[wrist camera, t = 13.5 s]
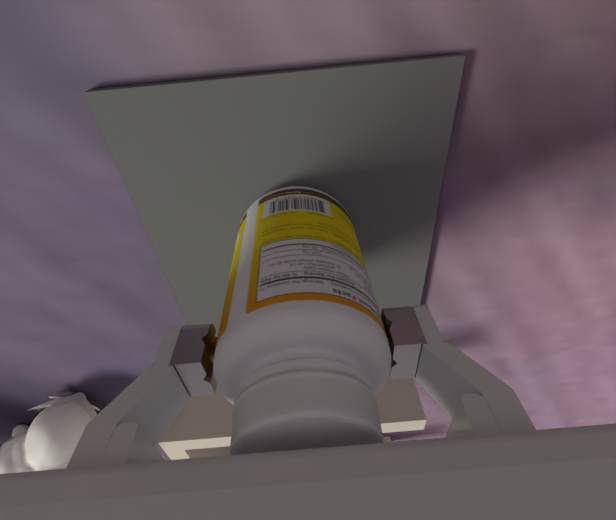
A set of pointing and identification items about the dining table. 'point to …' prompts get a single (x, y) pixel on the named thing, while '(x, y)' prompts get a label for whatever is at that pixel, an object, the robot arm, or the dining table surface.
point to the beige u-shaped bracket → (218, 420)
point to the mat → (286, 163)
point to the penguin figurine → (48, 436)
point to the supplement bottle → (300, 329)
